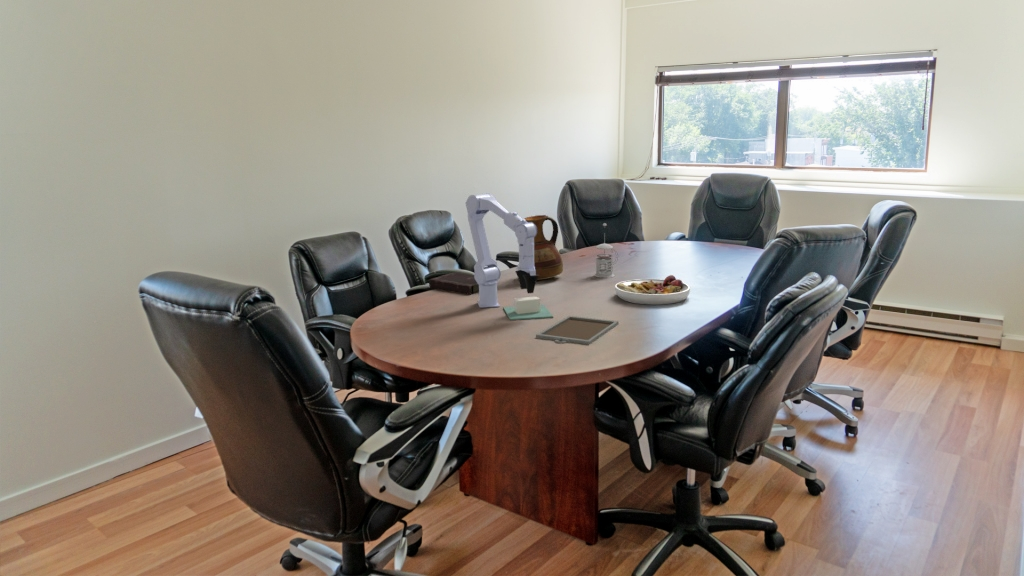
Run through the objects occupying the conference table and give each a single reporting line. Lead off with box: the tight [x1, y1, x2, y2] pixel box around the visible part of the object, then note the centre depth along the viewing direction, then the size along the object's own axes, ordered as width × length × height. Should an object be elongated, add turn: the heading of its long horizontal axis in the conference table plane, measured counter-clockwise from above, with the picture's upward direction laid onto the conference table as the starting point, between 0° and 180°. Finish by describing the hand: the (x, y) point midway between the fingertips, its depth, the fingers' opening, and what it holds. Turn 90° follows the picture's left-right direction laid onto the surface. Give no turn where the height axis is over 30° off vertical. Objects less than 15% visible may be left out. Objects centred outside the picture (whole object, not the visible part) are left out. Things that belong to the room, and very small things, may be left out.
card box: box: [513, 295, 541, 314], centre depth 260 cm, size 9×4×5 cm, turn 108°
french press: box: [593, 222, 619, 279], centre depth 325 cm, size 10×12×25 cm
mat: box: [503, 304, 554, 321], centre depth 260 cm, size 18×16×1 cm
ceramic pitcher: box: [523, 214, 564, 281], centre depth 321 cm, size 20×20×30 cm
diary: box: [428, 271, 479, 296], centre depth 307 cm, size 19×25×5 cm
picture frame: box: [535, 315, 619, 346], centre depth 234 cm, size 19×2×30 cm
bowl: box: [614, 274, 691, 306], centre depth 280 cm, size 30×30×8 cm
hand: (527, 290), depth 259 cm, fingers open, 7 cm apart
